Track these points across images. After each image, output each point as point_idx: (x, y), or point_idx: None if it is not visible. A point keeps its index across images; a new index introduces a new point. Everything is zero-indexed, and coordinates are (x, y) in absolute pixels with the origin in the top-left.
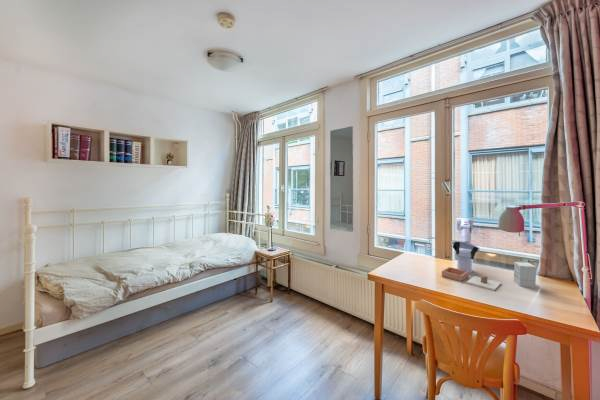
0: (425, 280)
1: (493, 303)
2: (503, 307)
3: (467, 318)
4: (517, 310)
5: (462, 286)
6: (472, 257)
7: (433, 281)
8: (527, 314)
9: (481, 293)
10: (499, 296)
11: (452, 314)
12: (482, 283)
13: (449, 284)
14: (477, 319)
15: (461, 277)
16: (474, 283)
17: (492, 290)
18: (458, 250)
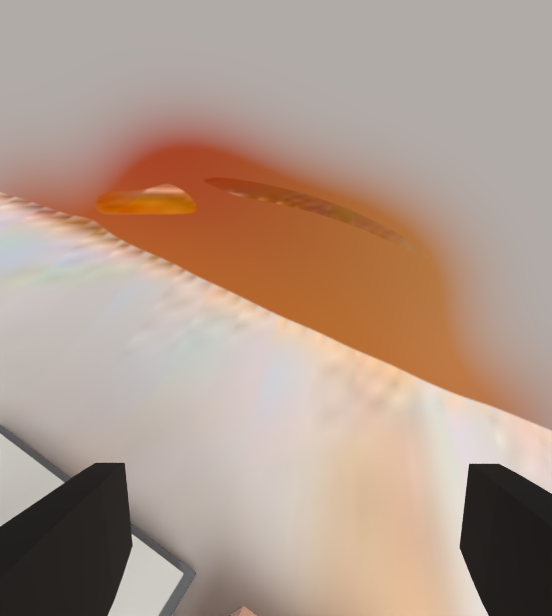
0: None
1: (143, 278)
2: (115, 250)
3: (298, 195)
4: (60, 233)
5: (245, 494)
6: (125, 474)
7: None
8: (39, 210)
9: (143, 387)
10: (27, 362)
11: (340, 210)
12: None
13: (344, 510)
14: (269, 191)
15: (240, 609)
16: None
17: (13, 438)
18: (544, 497)
